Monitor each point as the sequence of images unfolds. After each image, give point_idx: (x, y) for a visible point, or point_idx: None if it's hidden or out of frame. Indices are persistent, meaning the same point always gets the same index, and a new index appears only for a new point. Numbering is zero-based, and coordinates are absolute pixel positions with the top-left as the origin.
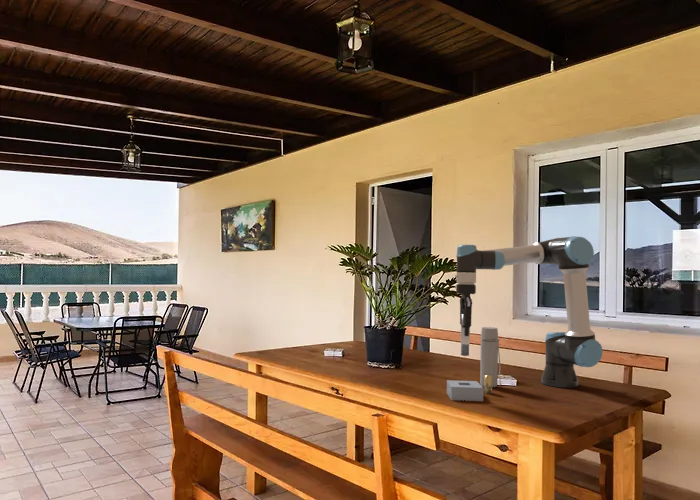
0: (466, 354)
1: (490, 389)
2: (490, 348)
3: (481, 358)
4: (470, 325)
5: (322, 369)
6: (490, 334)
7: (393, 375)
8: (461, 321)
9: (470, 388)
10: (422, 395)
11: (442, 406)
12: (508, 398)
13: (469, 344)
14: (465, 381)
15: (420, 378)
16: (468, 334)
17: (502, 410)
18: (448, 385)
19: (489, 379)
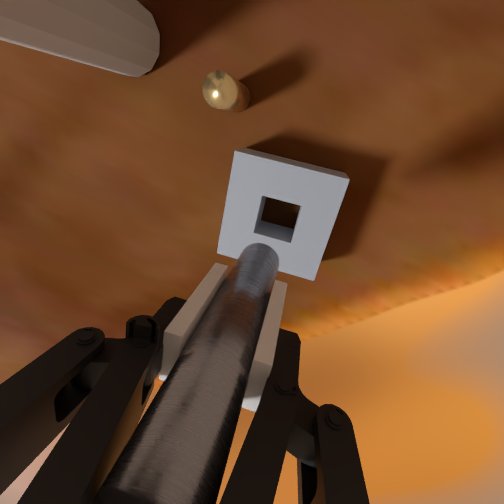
0: (278, 266)
1: (246, 92)
2: None
3: (57, 53)
4: (348, 425)
5: None
6: None
7: (32, 291)
8: (136, 419)
9: (333, 223)
10: None
11: (372, 311)
12: (327, 50)
13: (286, 284)
14: (237, 198)
15: (53, 237)
16: (299, 345)
17: (477, 163)
18: None
19: (238, 93)
